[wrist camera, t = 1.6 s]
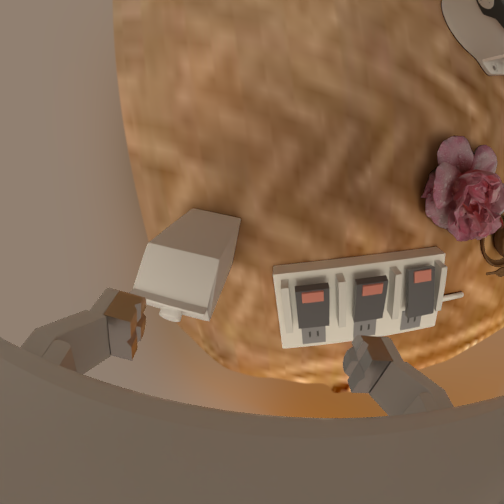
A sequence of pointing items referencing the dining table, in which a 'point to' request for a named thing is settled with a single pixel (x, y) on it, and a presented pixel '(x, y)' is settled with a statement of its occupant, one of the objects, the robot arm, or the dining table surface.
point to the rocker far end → (312, 305)
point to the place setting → (502, 245)
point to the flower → (465, 190)
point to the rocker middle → (369, 298)
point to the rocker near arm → (420, 291)
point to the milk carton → (188, 265)
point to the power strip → (342, 295)
